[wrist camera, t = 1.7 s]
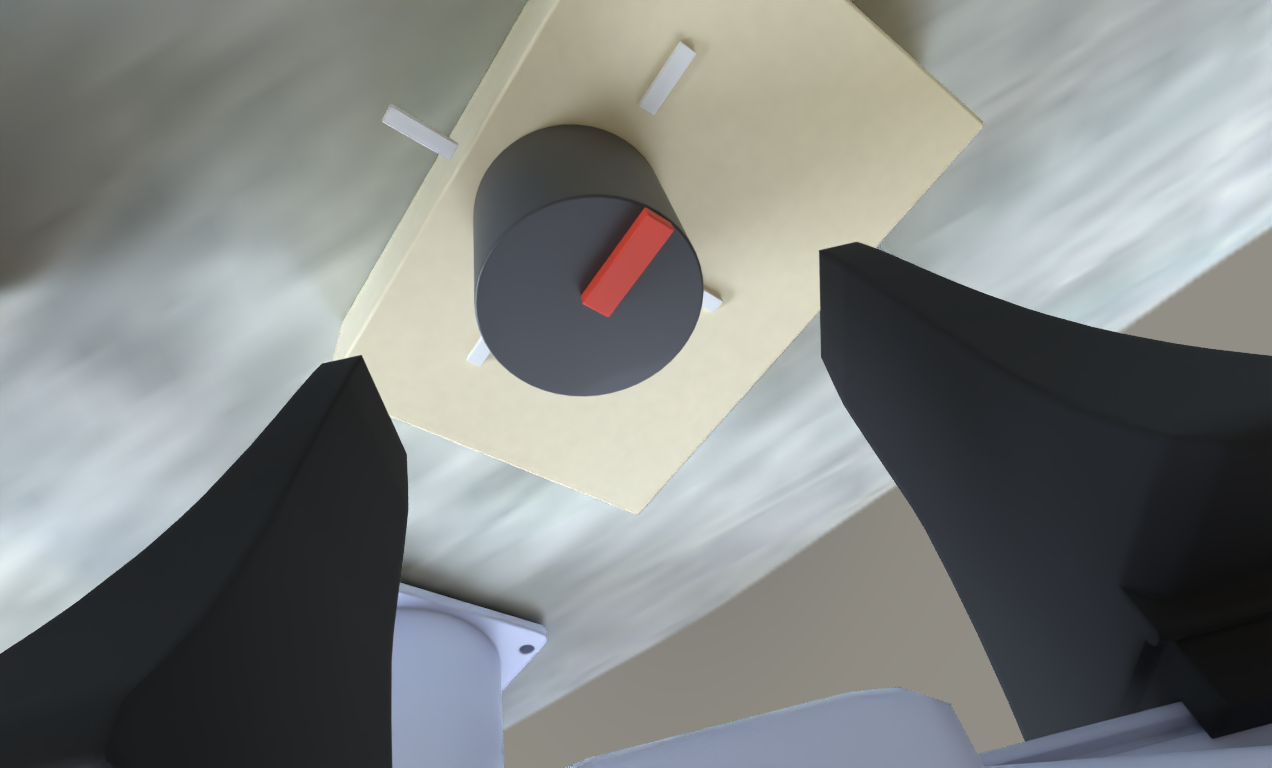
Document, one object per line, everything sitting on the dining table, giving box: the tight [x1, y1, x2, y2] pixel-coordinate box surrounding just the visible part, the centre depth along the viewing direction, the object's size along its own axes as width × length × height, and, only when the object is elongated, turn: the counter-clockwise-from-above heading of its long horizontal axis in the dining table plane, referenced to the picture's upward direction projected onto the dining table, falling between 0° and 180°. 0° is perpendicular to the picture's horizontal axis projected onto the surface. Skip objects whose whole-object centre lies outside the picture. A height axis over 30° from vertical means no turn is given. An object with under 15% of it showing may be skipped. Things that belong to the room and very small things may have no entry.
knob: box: [473, 124, 704, 397], centre depth 15 cm, size 4×4×4 cm
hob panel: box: [332, 0, 984, 515], centre depth 18 cm, size 13×11×3 cm
